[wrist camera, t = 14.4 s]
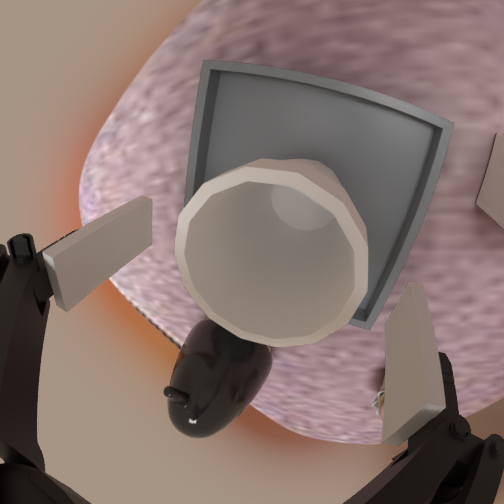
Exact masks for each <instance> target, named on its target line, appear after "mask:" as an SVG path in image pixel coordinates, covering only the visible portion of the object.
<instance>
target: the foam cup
mask: <svg viewBox="0 0 504 504" xmlns="http://www.w3.org/2000/svg"><path fill="white" fill-rule="evenodd" d="M174 255H175V258H176V261H177V265H178V268H179V271H180V275H181V278H182V281H183V284H184V287H185V289H186V290H187V291H188V293H189V294H190V295H191V297H192V298H193V299H194V300H195V302H196V303H197V304H198V305H199V307H200V308H201V309H202V310H203V312H204V313H205V314H206V315H207V317H208V318H210V319H211V320H213V321H214V322H216V323H217V324H219V325H220V326H222V327H224V328H225V329H227V330H228V331H230V332H231V333H233V334H235V335H236V336H238V337H239V338H242V339H245V340H249V341H253V342H257V343H261V344H265V345H269V346H273V347H287V346H296V345H305V344H313V343H316V342H318V341H320V340H322V339H323V338H325V337H327V336H328V335H330V334H332V333H334V332H335V331H337V330H339V329H340V328H342V327H344V326H345V325H347V324H348V322H349V321H350V319H351V318H352V316H353V314H354V313H355V311H356V310H357V308H358V306H359V305H360V303H361V301H362V300H363V298H364V296H365V295H366V293H367V291H368V241H367V232H366V226H365V224H364V222H363V220H362V219H361V217H360V215H359V213H358V211H357V210H356V208H355V206H354V204H353V202H352V201H351V199H350V197H349V195H348V194H347V192H346V190H345V189H344V188H343V187H342V185H341V183H340V181H339V180H338V178H337V176H336V175H335V173H334V172H333V170H331V169H330V168H328V167H327V166H325V165H324V164H322V163H321V162H319V161H316V160H309V159H300V158H299V159H288V160H275V159H266V158H261V159H258V160H256V161H253V162H250V163H248V164H245V165H242V166H240V167H237V168H235V169H232V170H230V171H227V172H225V173H223V174H221V175H219V176H217V177H215V178H213V179H211V180H209V181H207V182H205V183H203V185H202V186H201V187H200V188H199V190H198V191H197V192H196V193H195V195H194V196H193V197H192V199H191V200H190V201H189V203H188V204H187V205H186V207H185V208H184V209H183V210H182V212H181V213H180V214H179V218H178V225H177V232H176V239H175V246H174Z"/></svg>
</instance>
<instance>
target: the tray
mask: <svg viewBox="0 0 504 504" xmlns="http://www.w3.org/2000/svg"><path fill="white" fill-rule="evenodd" d="M453 126H454V123H453V122H451V121H449V120H447V119H445V118H443V117H441V116H438V115H436V114H434V113H432V112H429V111H427V110H425V109H422V108H420V107H417V106H415V105H412V104H410V103H407V102H404V101H402V100H399V99H396V98H394V97H391V96H388V95H385V94H382V93H379V92H376V91H373V90H370V89H367V88H363V87H360V86H357V85H353V84H350V83H346V82H342V81H338V80H335V79H331V78H327V77H322V76H318V75H313V74H309V73H304V72H299V71H294V70H288V69H283V68H277V67H270V66H264V65H256V64H248V63H239V62H229V61H216V60H203V64H202V70H201V76H200V81H199V87H198V94H197V100H196V106H195V113H194V120H193V127H192V135H191V143H190V151H189V159H188V168H187V178H186V188H185V198H184V208H185V207H186V205H187V204H188V203H189V201H190V200H191V199H192V197H193V196H194V195H195V193H196V192H197V191H198V190H199V188H200V187H201V186H202V185H203V183H205V182H207V181H209V180H211V179H213V178H215V177H217V176H219V175H221V174H223V173H225V172H227V171H230V170H232V169H235V168H237V167H240V166H242V165H245V164H248V163H250V162H253V161H256V160H258V159H261V158H266V159H275V160H288V159H299V158H300V159H309V160H316V161H319V162H321V163H322V164H324V165H325V166H327V167H328V168H330V169H331V170H333V172H334V173H335V175H336V176H337V178H338V180H339V181H340V183H341V185H342V187H343V188H344V189H345V190H346V192H347V194H348V195H349V197H350V199H351V201H352V202H353V204H354V206H355V208H356V210H357V211H358V213H359V215H360V217H361V219H362V220H363V222H364V224H365V226H366V232H367V241H368V291H367V293H366V295H365V296H364V298H363V300H362V301H361V303H360V305H359V306H358V308H357V310H356V311H355V313H354V314H353V316H352V318H351V319H350V321H349V322H348V324H350V325H353V326H357V327H360V328H363V329H366V330H370V329H371V327H372V326H373V324H374V322H375V320H376V319H377V317H378V315H379V313H380V311H381V309H382V308H383V306H384V304H385V302H386V300H387V298H388V296H389V294H390V292H391V290H392V288H393V286H394V284H395V282H396V280H397V278H398V276H399V274H400V272H401V270H402V268H403V266H404V264H405V261H406V259H407V257H408V255H409V253H410V250H411V248H412V246H413V244H414V241H415V239H416V236H417V234H418V232H419V229H420V227H421V224H422V222H423V219H424V217H425V214H426V212H427V209H428V206H429V204H430V201H431V198H432V195H433V193H434V190H435V187H436V184H437V181H438V178H439V175H440V172H441V169H442V166H443V162H444V159H445V156H446V152H447V149H448V145H449V142H450V138H451V134H452V130H453Z"/></svg>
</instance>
